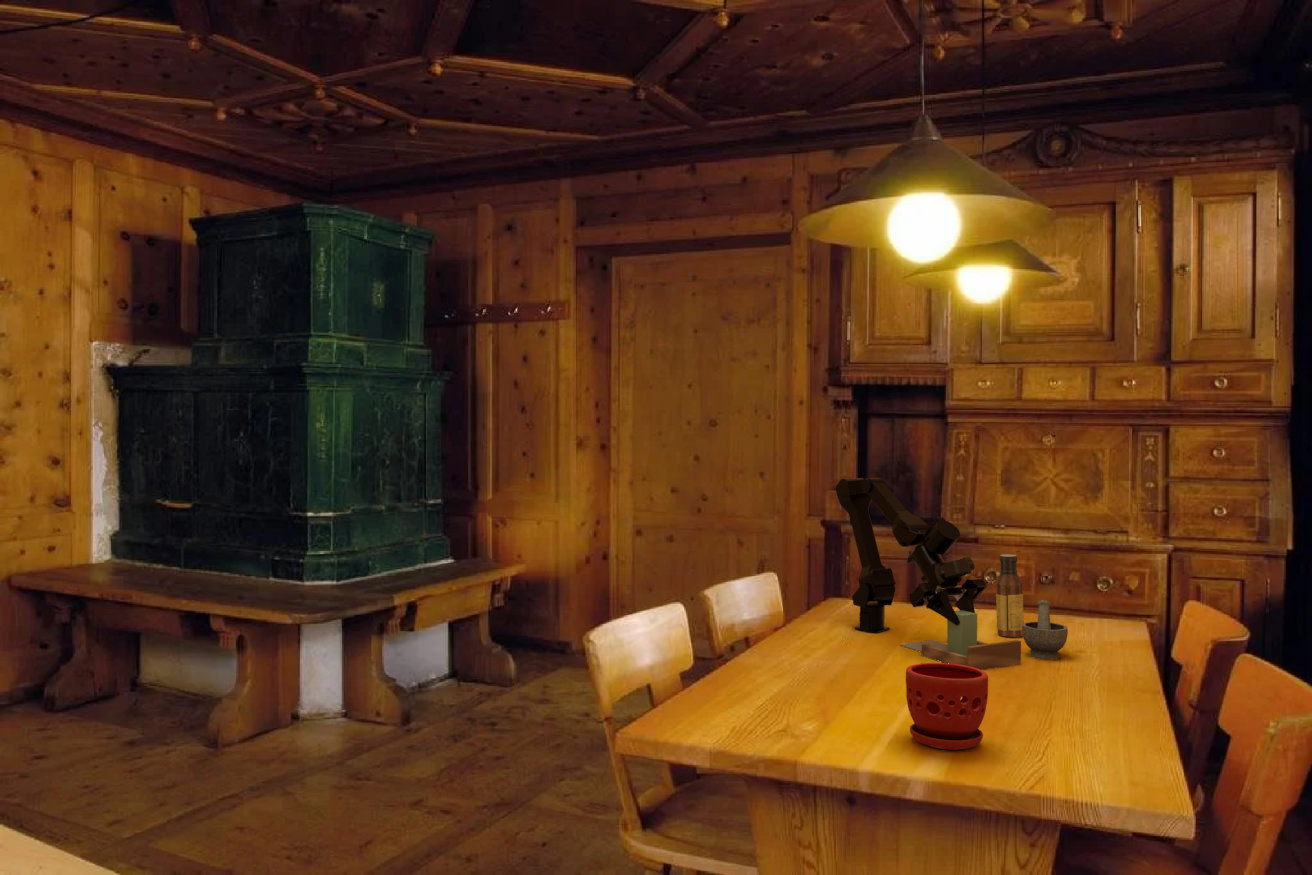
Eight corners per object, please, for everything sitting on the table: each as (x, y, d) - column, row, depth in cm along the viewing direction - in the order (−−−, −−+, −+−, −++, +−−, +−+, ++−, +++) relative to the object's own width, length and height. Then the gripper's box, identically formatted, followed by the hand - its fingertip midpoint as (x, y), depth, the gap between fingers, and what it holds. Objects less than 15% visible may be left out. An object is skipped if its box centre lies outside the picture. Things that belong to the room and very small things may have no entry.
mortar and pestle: (1068, 663, 218) (1068, 608, 217) (1022, 659, 221) (1023, 605, 221) (1064, 651, 228) (1065, 599, 228) (1021, 648, 231) (1021, 597, 231)
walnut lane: (921, 655, 224) (921, 633, 224) (969, 649, 230) (970, 627, 230) (970, 671, 210) (971, 647, 210) (1020, 664, 217) (1021, 641, 217)
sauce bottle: (1026, 634, 246) (1027, 554, 246) (1020, 639, 241) (1021, 557, 240) (998, 631, 249) (999, 552, 249) (992, 636, 244) (993, 555, 244)
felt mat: (899, 645, 234) (899, 644, 234) (932, 641, 238) (932, 640, 238) (929, 654, 225) (929, 653, 225) (962, 650, 229) (962, 648, 229)
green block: (947, 656, 224) (947, 611, 223) (962, 654, 226) (962, 610, 225) (961, 660, 220) (961, 615, 219) (976, 658, 222) (977, 613, 221)
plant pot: (1003, 751, 160) (1004, 677, 160) (928, 757, 157) (928, 681, 157) (962, 726, 173) (962, 657, 172) (891, 731, 170) (892, 661, 170)
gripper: (918, 547, 221) (953, 605, 212) (981, 543, 230) (1017, 598, 220) (894, 577, 229) (927, 635, 219) (956, 572, 237) (990, 627, 227)
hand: (966, 623), depth 221 cm, fingers closed on green block, 4 cm apart
